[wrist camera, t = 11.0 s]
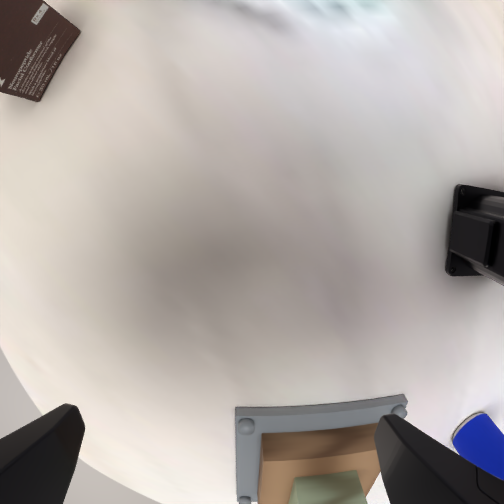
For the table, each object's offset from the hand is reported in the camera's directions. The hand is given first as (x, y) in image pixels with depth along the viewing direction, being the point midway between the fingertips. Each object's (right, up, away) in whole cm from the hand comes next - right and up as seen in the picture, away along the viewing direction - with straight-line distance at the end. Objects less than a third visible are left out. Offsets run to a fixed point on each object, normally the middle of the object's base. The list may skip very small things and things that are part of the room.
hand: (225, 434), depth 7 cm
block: (+6, -15, +12) cm, 20 cm away
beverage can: (+25, -15, +17) cm, 34 cm away
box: (-14, +19, +8) cm, 25 cm away
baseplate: (+6, -14, +16) cm, 22 cm away
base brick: (+6, -14, +16) cm, 22 cm away
